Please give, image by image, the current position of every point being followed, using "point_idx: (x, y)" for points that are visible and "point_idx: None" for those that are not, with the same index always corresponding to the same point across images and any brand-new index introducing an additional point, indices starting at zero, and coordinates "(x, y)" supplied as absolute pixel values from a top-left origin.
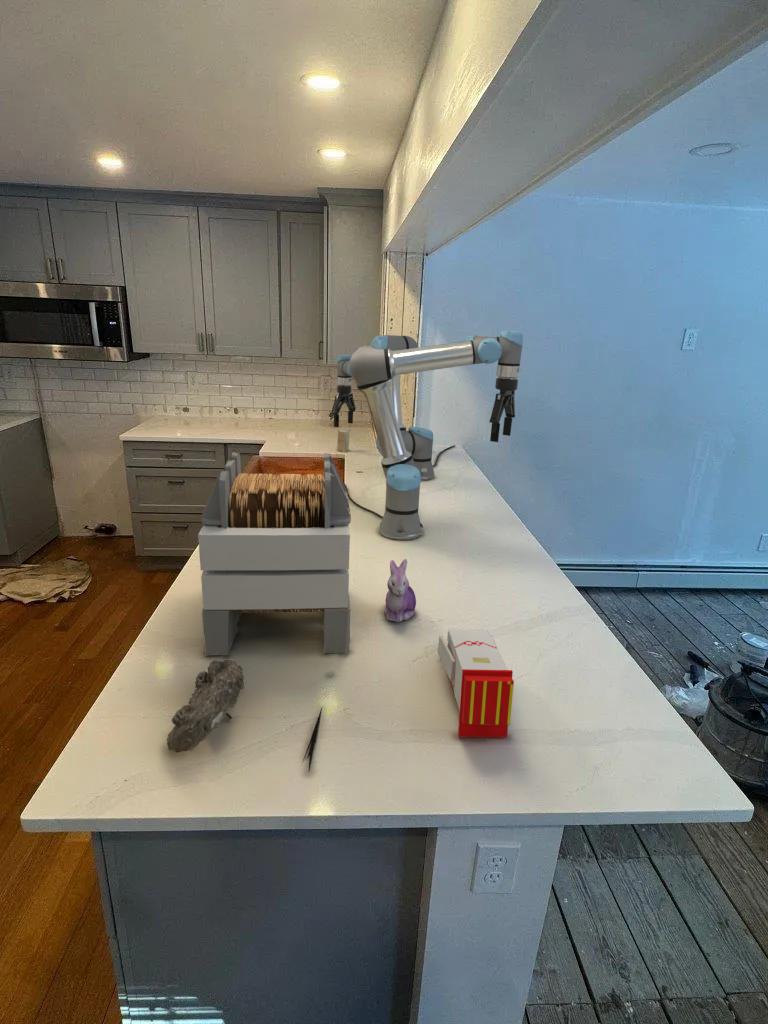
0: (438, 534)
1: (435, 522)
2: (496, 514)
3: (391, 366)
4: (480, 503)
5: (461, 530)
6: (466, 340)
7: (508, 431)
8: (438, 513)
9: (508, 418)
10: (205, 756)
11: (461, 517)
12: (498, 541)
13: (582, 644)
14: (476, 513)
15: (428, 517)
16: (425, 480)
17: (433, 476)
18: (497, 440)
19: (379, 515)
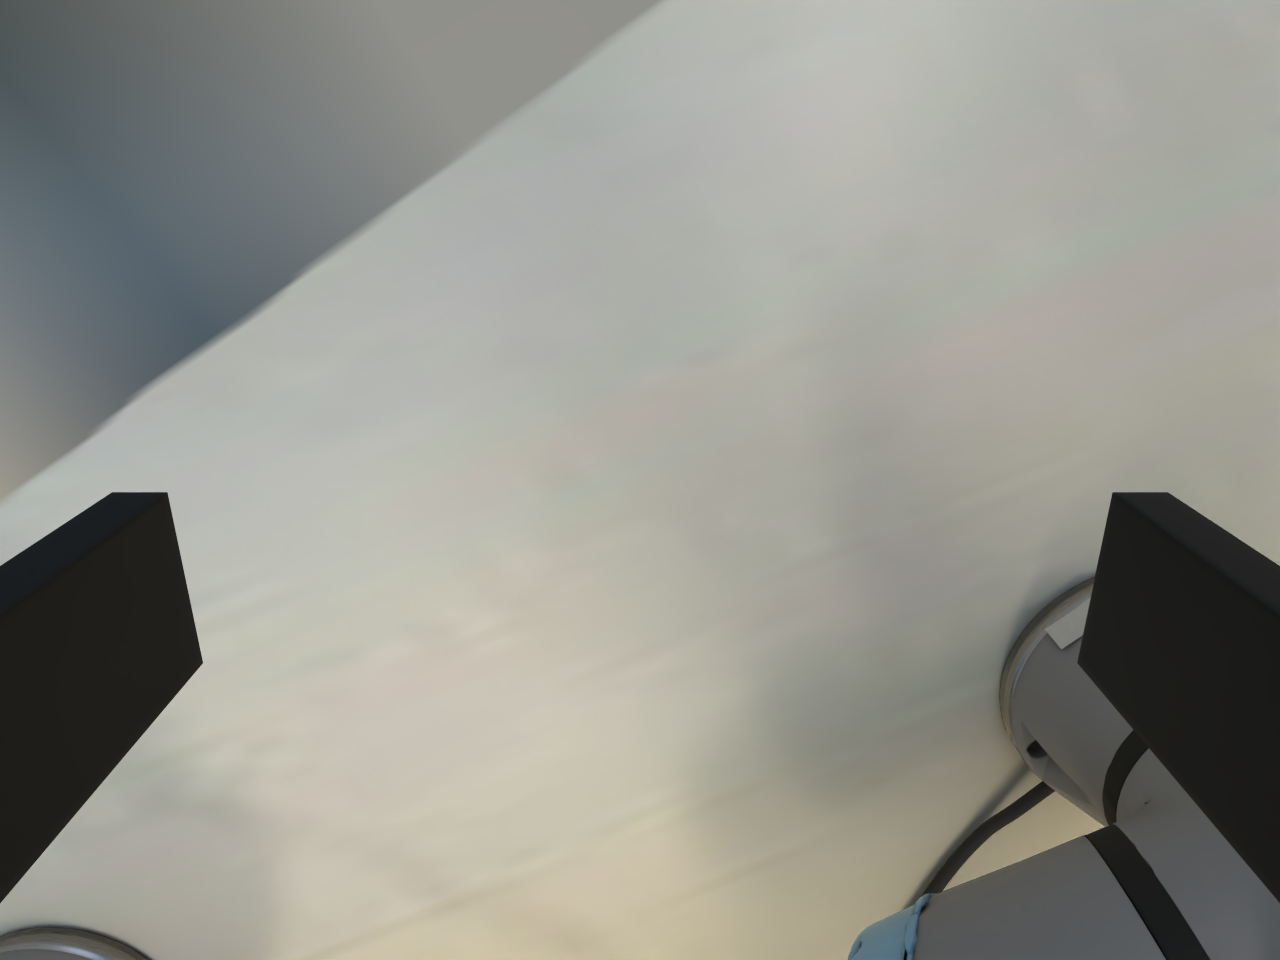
0: (1056, 488)
1: (854, 587)
2: (426, 299)
3: None
4: (275, 488)
5: (908, 393)
6: None
7: (113, 586)
8: (678, 637)
9: None
10: None
11: (659, 488)
12: (990, 80)
13: None
14: (509, 433)
15: (789, 656)
16: (122, 945)
17: (25, 940)
18: (1197, 513)
19: (956, 870)
